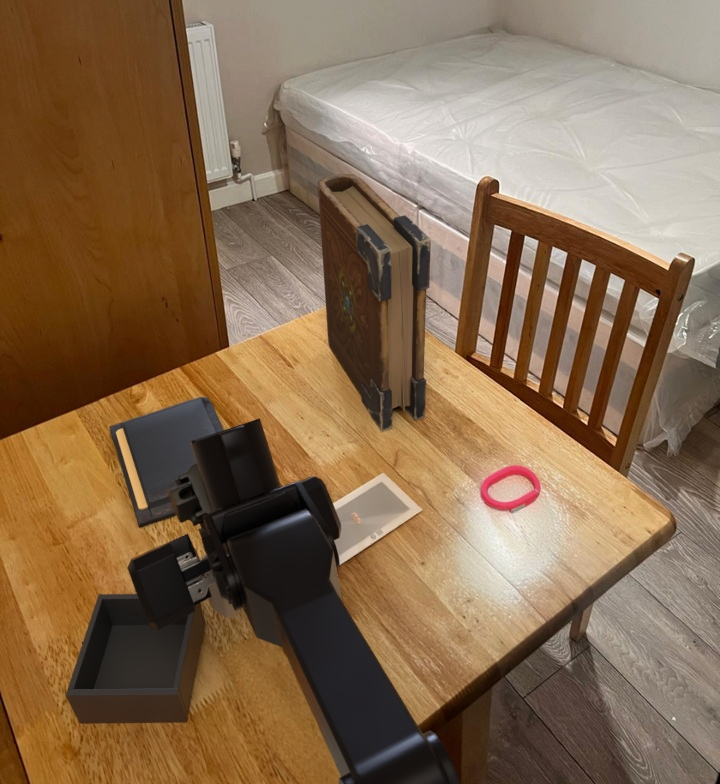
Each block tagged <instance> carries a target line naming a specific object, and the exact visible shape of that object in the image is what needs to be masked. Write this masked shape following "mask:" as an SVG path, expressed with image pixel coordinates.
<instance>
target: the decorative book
mask: <svg viewBox="0 0 720 784" xmlns="http://www.w3.org/2000/svg"><path fill="white" fill-rule="evenodd" d="M317 192H318V194H317V195H318V209H319V222H320V223H319V224H320V225H319V226H320V237H321V238H320V239H321V251H322V252H321V253H322V254H321V255H322V269H323V285H324V286H323V287H324V300H325V312H326V329H327V341H328V347H329V348H330V350H331V352H332V353H333V354H334V356H335V358H336V360H338V362H339V364H340V365H341V367H342V369H343V370H344V372H345V373H346V375H347V376H348V378H349V379H350V381H351V382H352V384H353V386H354V387H355V389H356V390H357V392H358V393H359V395H360V396H361V403H362V405H363V406H364V408H365V410H366V411H367V413H368V414H369V415H370V418H371V419H372V420H373V421H374V424H375V425H376V426H377V428H378V430H379V431H380V432H381V433H383V432H387V431H389V430H392V429H393V409H395V408H397V407H400V408H401V410H402V411H403V412H406V411H407V412H408V414H409V415H410V417H411V419H412V420H413V421H414V422H415V421H418V420H421V419H424V418H426V395H427V394H426V393H427V379H426V378H425V377H424V373H425V348H426V347H425V344H426V317H427V316H426V313H427V312H426V310H427V289H430V283H431V282H430V281H431V280H430V279H431V256H432V255H431V252H432V249H431V248H432V238H430V237H429V236H428V235H427V234H426V233H425V232H424V231H423V230H422V229H421V228H420V227H419V226H418V225H417V224H415V222H414V221H413V220H411V218H409V217H408V216H407V214H405V215H400V214H399V213H398V212H397V211H395V209H393V208H392V207H391V206H390V205H389V204H388V202H386V201H385V200H384V199H383V198H382V197H381V196H380V195H379V194H378V193H377V192H376V190H374V189H373V188H372V187H371V186H370V185H369V184H368V183H367V182H366V181H364V179H362V178H361V177H359V176H357V175H355V174H352V173H351V174H350V173H339V174H333V175H329V176H325V177H322V178H321V179H319V180H318V181H317Z"/></svg>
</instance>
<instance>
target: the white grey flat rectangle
mask: <svg viewBox="0 0 720 784" xmlns="http://www.w3.org/2000/svg"><path fill="white" fill-rule="evenodd" d="M332 503H333V505H334V507H335V510H336V512H337V515H338V517H339V520H340V522H341V534H340V537H339V538H338V539H336V540H334V542H335V545H336V548H337V551H338V555H339V562H340V565H339V566H341V565H342V564H344V563H345V562H347V561H348V560H350V559H351V558H353V557H354V556H356V555H358V554H359V553H361V552H362V551H363V550H364V549H367V548H368V547H369V546H371V545H372V544H374V543H375V542H377V541H379V540H380V539H381V538H383V537H384V536H386V535H387V534H389V533H390V532H392V531H394V530H395V529H396V528H398V527H399V526H401V525H402V524H404V523H405V522H407V521H408V520H410V519H412V518H413V517H414V516H415V515H417V514H419V513H421V512H422V511H423V508H421V507H420V506H419V505H418V504H417V503H416V502H415V501H414V500H413V499H412V498H411V497H410V496H409V495H408V494H407V493H405V492H404V490H403V489H401V488H400V487H399V486H398V485H397V484H396V483H395V482H394V481H393V480H392V479H391V478H390V477H389V476H388V475H387V474H386V473H384V472H381V473H380V474H378V475H377V476H375V477H374V478H372V479H371V480H369V481H367V482H365V483H364V484H362V485H361V486H359V487H357V488H356V489H354V490H352V491H351V492H350V493H347V494H346V495H344V496H343V497H340V498H339V499H338V500H335V501H334V502H332Z"/></svg>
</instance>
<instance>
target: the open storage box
mask: <svg viewBox="0 0 720 784" xmlns="http://www.w3.org/2000/svg"><path fill="white" fill-rule="evenodd" d="M201 603H202V602H201ZM201 603H199V604H197V605H195V606H194V607H195V610H196V611H195V612H193V613H191V614H189V615H187V616H185V617H183V618H181V619H179V620H177V621H175V622H173V623H171V624H169V625H167V626H166V627H164V628H162V629H160V630H156V629H154V628H151V627H149V625H148V623H147V621H146V618H145V615H144V612H143V610H142V607H141V604H140V602H139V599H138V596H137V593H99V594H98V595H97V599H96V602H95V604H94V607H93V611H92V614H91V616H90V620H89V623H88V626H87V628H86V632H85V634H84V638H83V641H82V644H81V647H80V650H79V653H78V656H77V658H76V662H75V666H74V668H73V671H72V674H71V678H70V680H69V683H68V686H67V690H66V692H65V697H66V699H67V701H68V703H69V705H70V707H71V709H72V712H73V713H74V715H75V717H76V719H77V721H78V724H159V723H160V724H161V723H162V724H165V723H166V724H167V723H168V724H169V723H176V724H177V723H187V722H188V717H189V713H190V707H191V702H192V697H193V690H194V686H195V680H196V675H197V669H198V665H199V659H200V655H201V649H202V644H203V638H204V633H205V628H206V627H205V626H206V618H205V614H204V611H203V607H202V604H201Z"/></svg>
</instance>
